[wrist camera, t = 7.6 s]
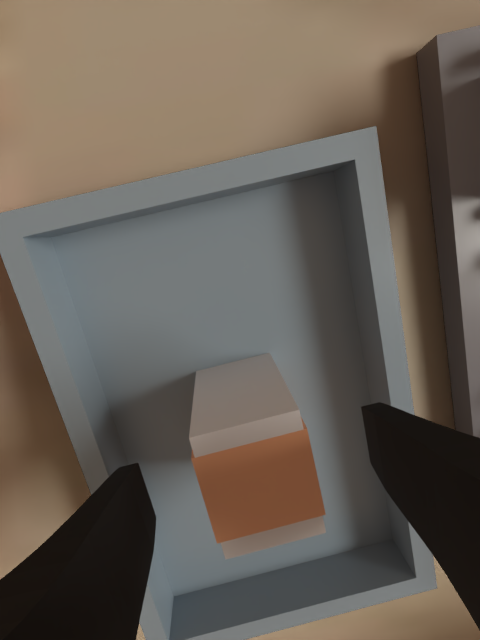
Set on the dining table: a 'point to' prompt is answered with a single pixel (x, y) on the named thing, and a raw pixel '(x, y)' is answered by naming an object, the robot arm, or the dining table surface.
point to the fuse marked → (253, 458)
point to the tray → (225, 347)
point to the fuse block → (456, 203)
